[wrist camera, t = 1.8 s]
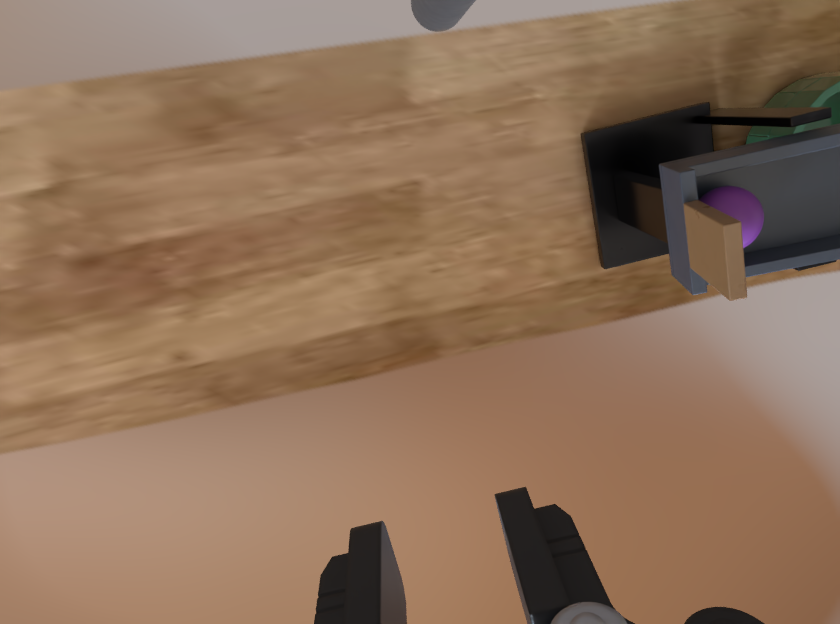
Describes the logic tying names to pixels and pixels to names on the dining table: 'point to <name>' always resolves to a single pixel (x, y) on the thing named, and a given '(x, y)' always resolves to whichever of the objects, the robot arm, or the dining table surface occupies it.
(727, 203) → the ball
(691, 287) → the chute
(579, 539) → the robot arm
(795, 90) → the bowl
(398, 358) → the dining table surface
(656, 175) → the stand
